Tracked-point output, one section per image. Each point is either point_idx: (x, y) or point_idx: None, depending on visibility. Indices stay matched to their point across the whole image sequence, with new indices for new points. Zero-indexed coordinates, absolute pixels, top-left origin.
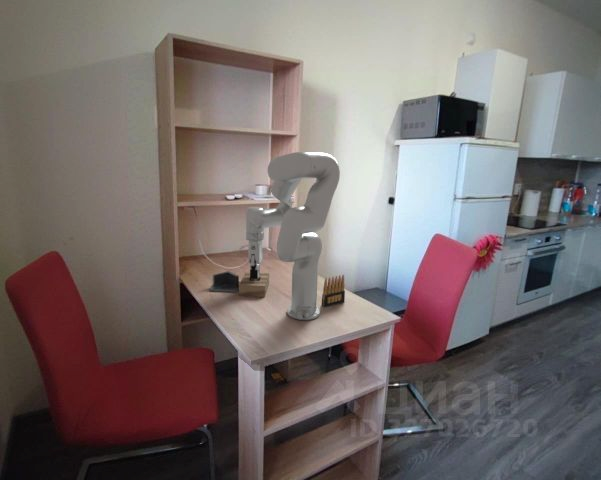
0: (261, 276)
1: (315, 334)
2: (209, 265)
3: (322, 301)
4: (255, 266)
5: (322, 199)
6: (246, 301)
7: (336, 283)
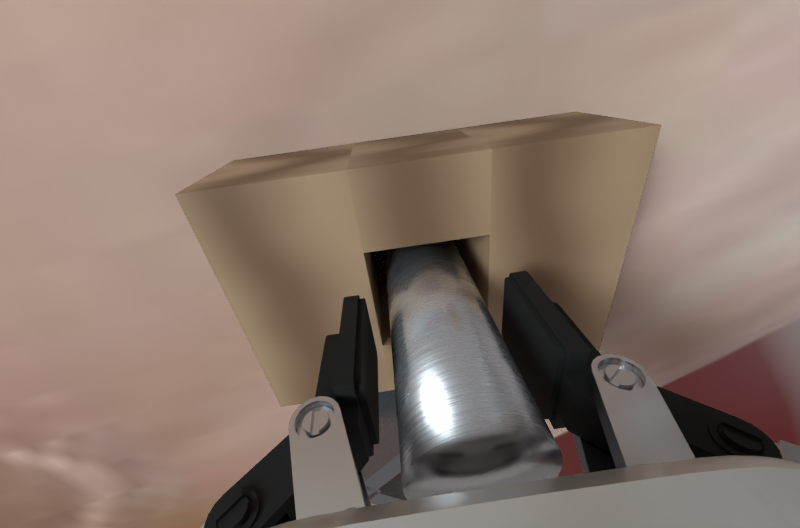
0: (335, 254)
1: None
2: None
3: None
4: (737, 437)
5: None
6: (644, 230)
7: None
